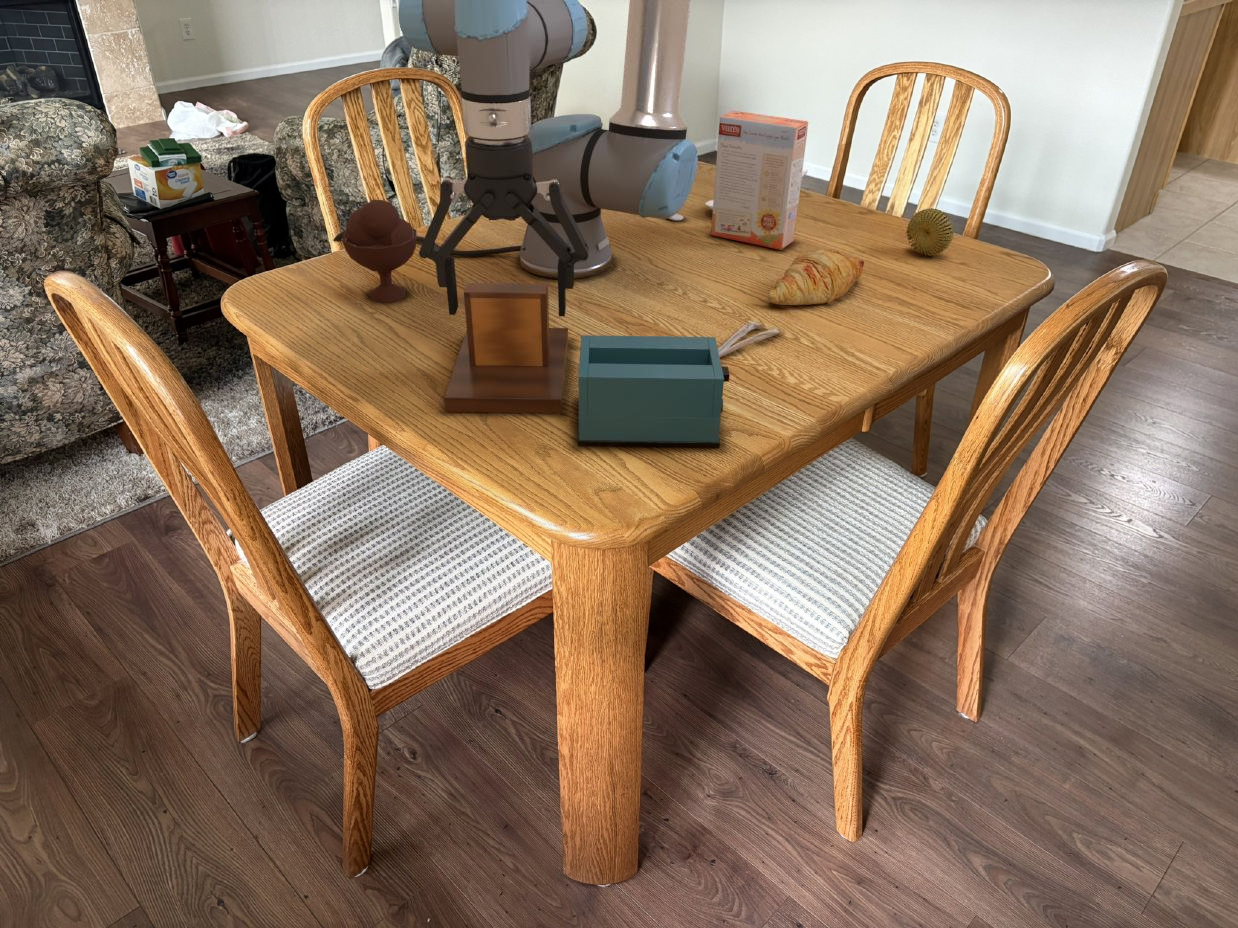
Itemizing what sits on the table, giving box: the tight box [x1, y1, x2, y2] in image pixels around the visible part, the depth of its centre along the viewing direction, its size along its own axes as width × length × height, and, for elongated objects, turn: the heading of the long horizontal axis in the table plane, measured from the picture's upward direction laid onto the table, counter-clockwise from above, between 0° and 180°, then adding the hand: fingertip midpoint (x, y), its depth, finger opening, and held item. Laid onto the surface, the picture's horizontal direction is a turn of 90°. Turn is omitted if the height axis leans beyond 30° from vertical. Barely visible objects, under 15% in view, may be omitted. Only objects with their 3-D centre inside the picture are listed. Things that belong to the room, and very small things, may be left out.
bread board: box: [444, 327, 569, 414], centre depth 119 cm, size 24×14×2 cm, turn 0°
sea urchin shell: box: [906, 207, 955, 257], centre depth 155 cm, size 8×4×8 cm, turn 48°
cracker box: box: [710, 110, 809, 251], centre depth 156 cm, size 14×6×21 cm, turn 58°
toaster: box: [576, 334, 731, 449], centre depth 106 cm, size 17×11×9 cm, turn 90°
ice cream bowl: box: [341, 199, 418, 303], centre depth 135 cm, size 11×11×15 cm
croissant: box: [767, 249, 865, 306], centre depth 141 cm, size 21×10×8 cm, turn 130°
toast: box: [463, 282, 550, 366], centre depth 114 cm, size 10×3×10 cm, turn 90°
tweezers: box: [718, 320, 781, 358], centre depth 124 cm, size 17×5×2 cm, turn 137°
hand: (508, 311), depth 113 cm, fingers open, 13 cm apart
